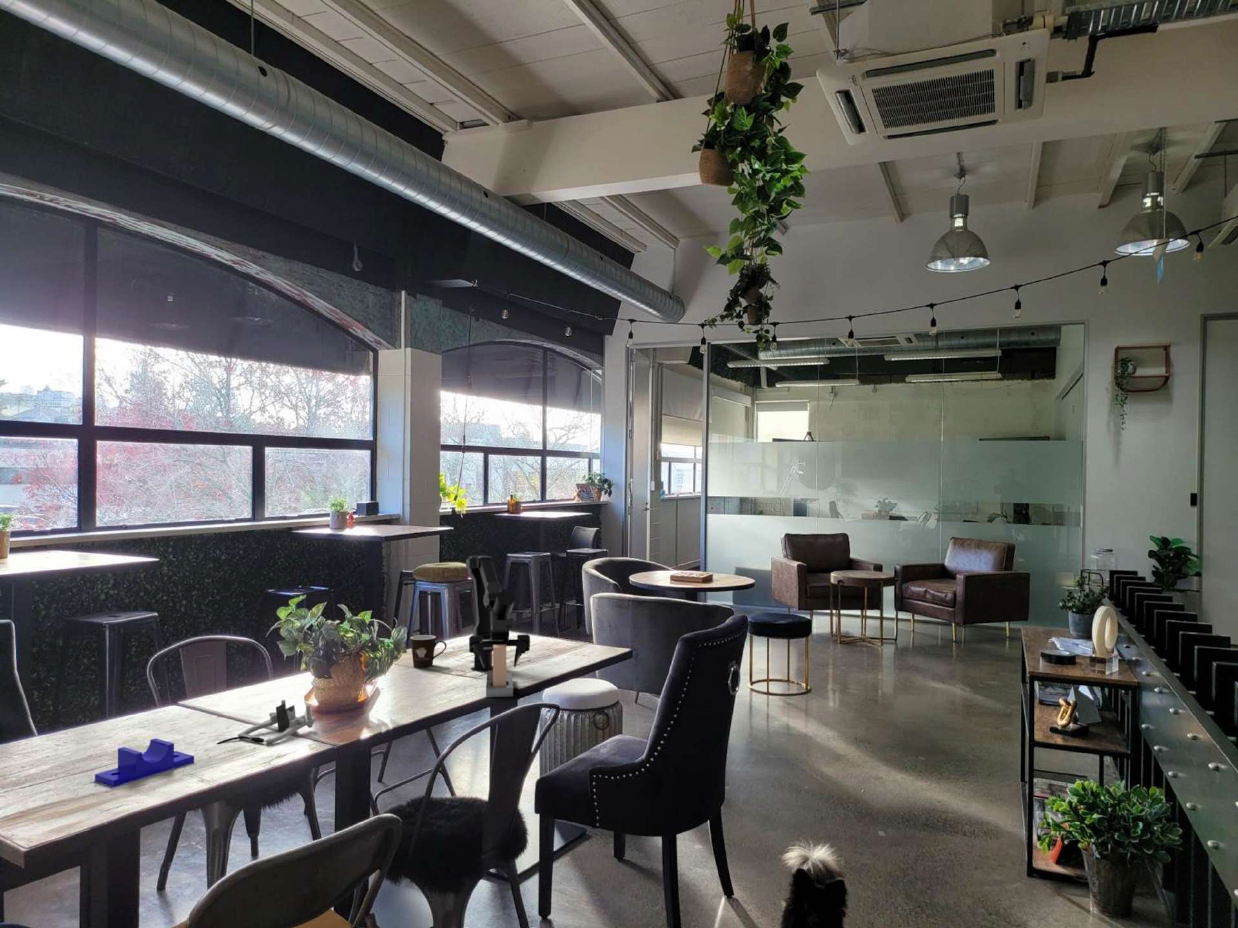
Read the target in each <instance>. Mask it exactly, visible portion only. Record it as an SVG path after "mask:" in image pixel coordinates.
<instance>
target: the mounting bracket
mask: <svg viewBox="0 0 1238 928" xmlns="http://www.w3.org/2000/svg"><path fill="white" fill-rule="evenodd" d="M149 741H150V742H149V745H148V748H147V749H146V750H145V751H144V752H142V751H138V750H134V749H132V748H128V747H125V746H122V747H119V748H117V767H116V768H112V769H108V770H105V771H102V772H98V773H95V774H94V782H97V783H101V784H103V785H106V786H108V787H112V788H114V787H118V786H121V785H125V784H127V783H132V782H134V781H138V780H141V779H144V778H147V777H151V776H153V775H157V774H160V773H164V772H167V771H170V770H173V769H177V768H180V767H183V766H187V765H189V764H193V763H195V755H192V754H188V753H184V752H181V751H178V750H175V743H174V742H170V741H167V740H163V739H159V738H152V739H150V740H149Z"/></svg>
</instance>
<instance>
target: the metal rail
mask: <svg viewBox="0 0 1238 928" xmlns="http://www.w3.org/2000/svg"><path fill="white" fill-rule="evenodd" d="M502 697H503V698H505V697H506V698H507V697H508V698H509V697H514V682H513V672H506V686H493V672H491V673H490V672H489V673H486V685H485V698H502Z"/></svg>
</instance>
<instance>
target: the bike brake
mask: <svg viewBox="0 0 1238 928" xmlns="http://www.w3.org/2000/svg"><path fill="white" fill-rule="evenodd" d="M280 702H281V704H280V705H278V706H276V707H275V712H269V714H268V715H269V717H270V718H269V719H268V720H265V721H262V722H260V723H258V724H255V725H253V726H251V727H248V728H247V729H245V730H243V731H241V732H240V733H238V735H237V736H235V737H231V738H227V739H223V740H221V741H219V742H217V743H216V745H220V744H224V743H227V742H230V741H236V740H242V741H246V742H253V743H258V744H262V743H265V745H266V746H272V745H273V744H276V743H277V742H279V741H281V740H284V739H286V738H288V737H289V736H290V735H292V734H293V733H296V732H297V731H298V730H300V729H303V728H304V727H306V726H307V728H308V729H311V728H312V727H313V726H314V724H315V722H316V717H315V716H314V715H313V716H312V710H311V705H310V704H306V706H305V709H306V710H305V711H306V716H305V715H304V714H302V715H300V716H296V708H295V705H291V706H289V707H287V706H286V699H282V700H280ZM276 724H277V731H278V732H281V733H279V734H278V735H276V736H273V737H271V738H270V737H269V738H266V739H264V738H262V737H259V736H258V737H257V736H253V735H251V734H252V733H254V732H256V731H258V730H263V729H266V728H269V727H272V726H275V725H276ZM282 731H283V732H282Z"/></svg>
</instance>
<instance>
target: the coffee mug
mask: <svg viewBox="0 0 1238 928" xmlns="http://www.w3.org/2000/svg"><path fill="white" fill-rule="evenodd" d="M436 640H437V636H436V635H430V634H423V635H422V634H421V635H420V634H418V635H413V636H410V646H411V655H412V663H413V664H412V665H413V668H415V669H429V668H432V667H433V666H434V665H433V664H434V660H435V658H437V657H438V656H440V655H442V654H443V652H445V651H446V650H447V643H446V641H444V640H438V641H436ZM439 643H442V644H444V649H442V651H441V652H438V654H437V653H436V655H434V654H435V648H436V646H437V645H438V644H439Z"/></svg>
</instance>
